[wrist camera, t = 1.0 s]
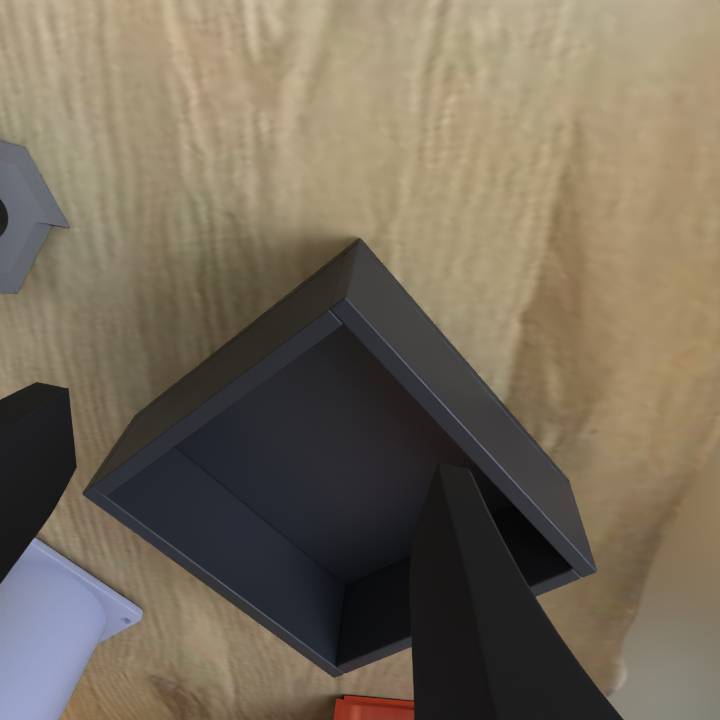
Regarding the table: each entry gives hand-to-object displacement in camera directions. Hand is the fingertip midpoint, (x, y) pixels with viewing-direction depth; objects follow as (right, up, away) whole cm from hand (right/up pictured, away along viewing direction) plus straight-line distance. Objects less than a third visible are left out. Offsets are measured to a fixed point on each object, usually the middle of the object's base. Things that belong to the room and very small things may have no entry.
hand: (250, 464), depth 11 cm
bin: (+2, -2, +12) cm, 13 cm away
